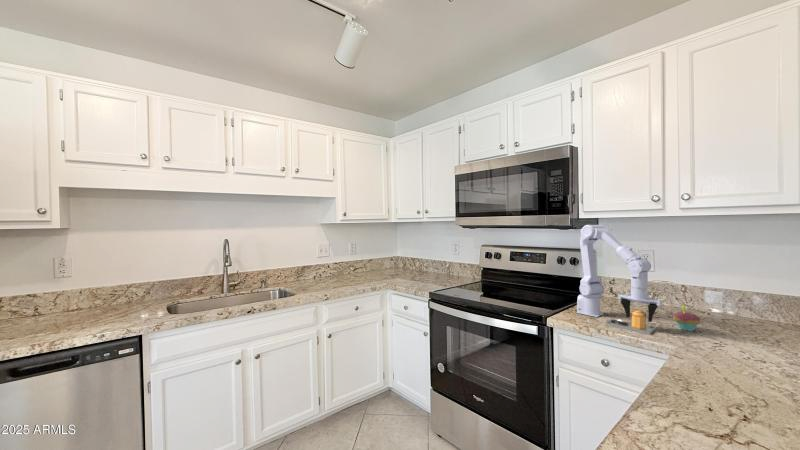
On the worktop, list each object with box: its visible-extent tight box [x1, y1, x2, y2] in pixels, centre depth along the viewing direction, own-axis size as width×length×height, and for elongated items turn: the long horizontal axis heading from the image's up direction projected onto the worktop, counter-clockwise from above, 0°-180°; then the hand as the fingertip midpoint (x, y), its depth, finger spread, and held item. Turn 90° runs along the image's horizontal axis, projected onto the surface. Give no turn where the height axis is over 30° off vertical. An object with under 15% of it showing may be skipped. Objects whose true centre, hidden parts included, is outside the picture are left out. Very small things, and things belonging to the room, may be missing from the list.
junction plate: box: [605, 317, 657, 335], centre depth 138 cm, size 16×9×4 cm, turn 39°
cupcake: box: [672, 302, 701, 332], centre depth 134 cm, size 9×8×12 cm
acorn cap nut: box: [631, 309, 647, 328], centre depth 136 cm, size 5×5×7 cm
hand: (638, 319), depth 136 cm, fingers open, 7 cm apart
